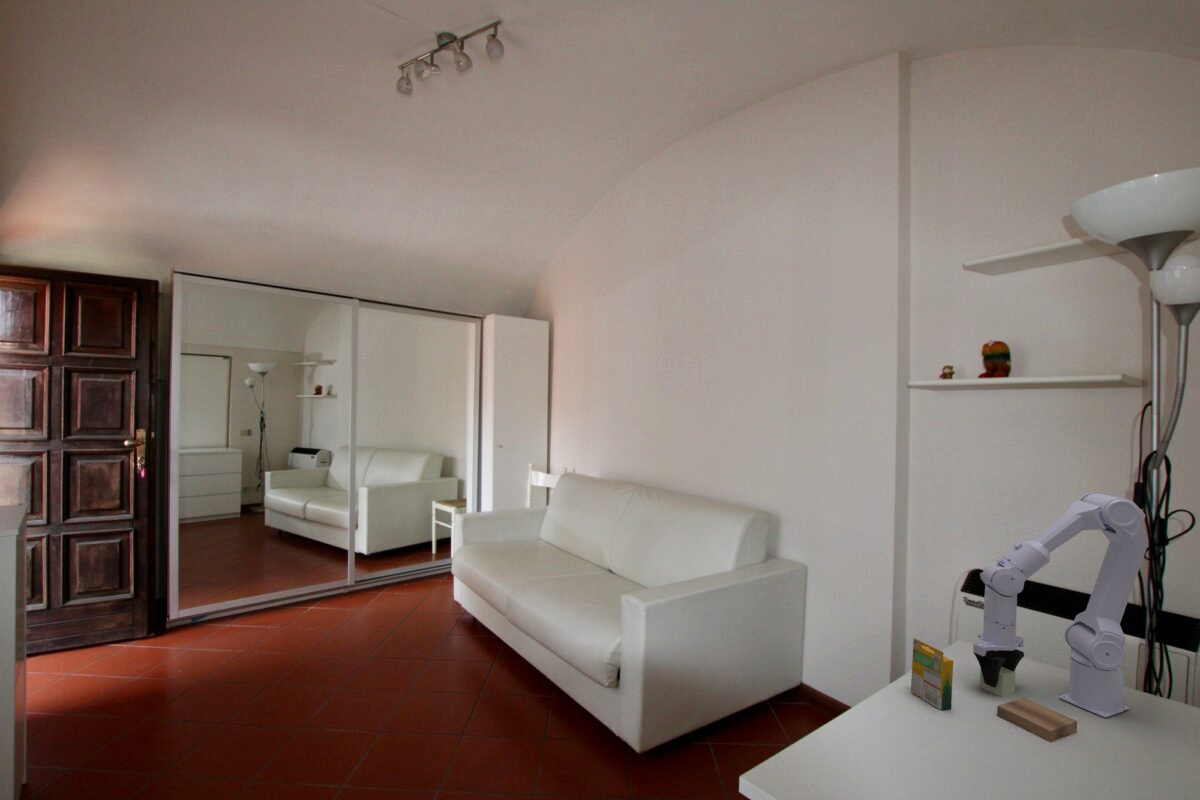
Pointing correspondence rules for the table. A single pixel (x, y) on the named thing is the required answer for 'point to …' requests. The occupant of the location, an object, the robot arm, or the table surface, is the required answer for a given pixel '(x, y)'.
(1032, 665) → the table surface
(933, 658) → the crayon box
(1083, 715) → the table surface
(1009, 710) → the walnut base block
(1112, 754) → the table surface
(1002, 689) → the sage cube
